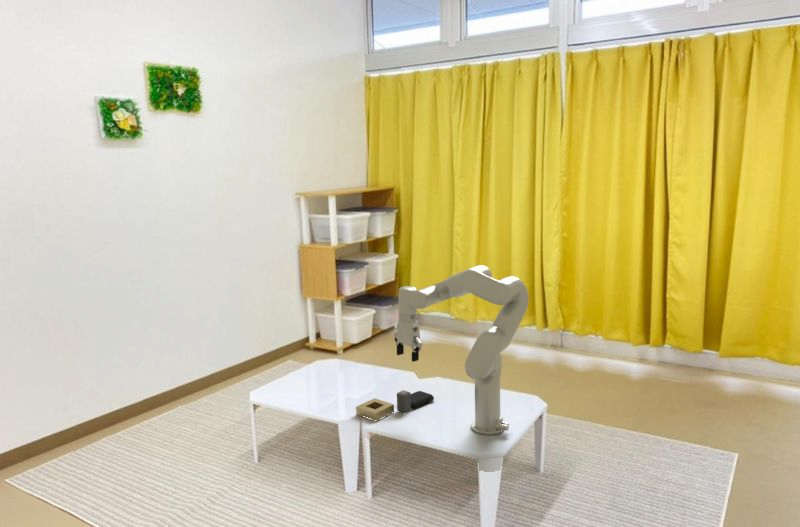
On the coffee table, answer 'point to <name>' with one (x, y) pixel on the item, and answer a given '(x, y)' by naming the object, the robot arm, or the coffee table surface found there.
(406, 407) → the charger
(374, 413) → the socket plate
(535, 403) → the coffee table surface
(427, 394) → the carrying case or bag
